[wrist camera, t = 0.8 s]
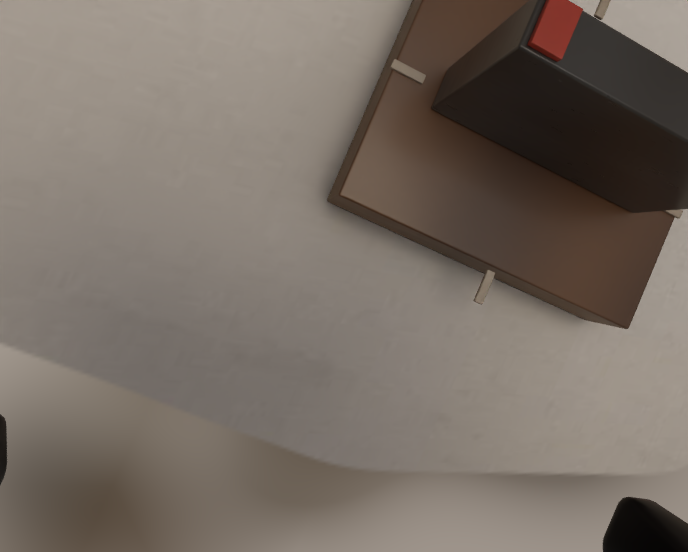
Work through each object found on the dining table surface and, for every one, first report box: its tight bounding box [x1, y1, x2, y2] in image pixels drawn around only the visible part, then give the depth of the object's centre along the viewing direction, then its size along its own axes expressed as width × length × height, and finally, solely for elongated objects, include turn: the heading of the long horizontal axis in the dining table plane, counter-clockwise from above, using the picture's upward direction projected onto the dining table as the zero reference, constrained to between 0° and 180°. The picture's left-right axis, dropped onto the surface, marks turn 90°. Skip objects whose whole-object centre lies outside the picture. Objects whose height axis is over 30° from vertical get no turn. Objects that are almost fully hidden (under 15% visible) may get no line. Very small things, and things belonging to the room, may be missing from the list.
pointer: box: [432, 0, 688, 213], centre depth 19 cm, size 10×2×7 cm, turn 67°
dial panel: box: [327, 0, 683, 329], centre depth 24 cm, size 14×14×3 cm
